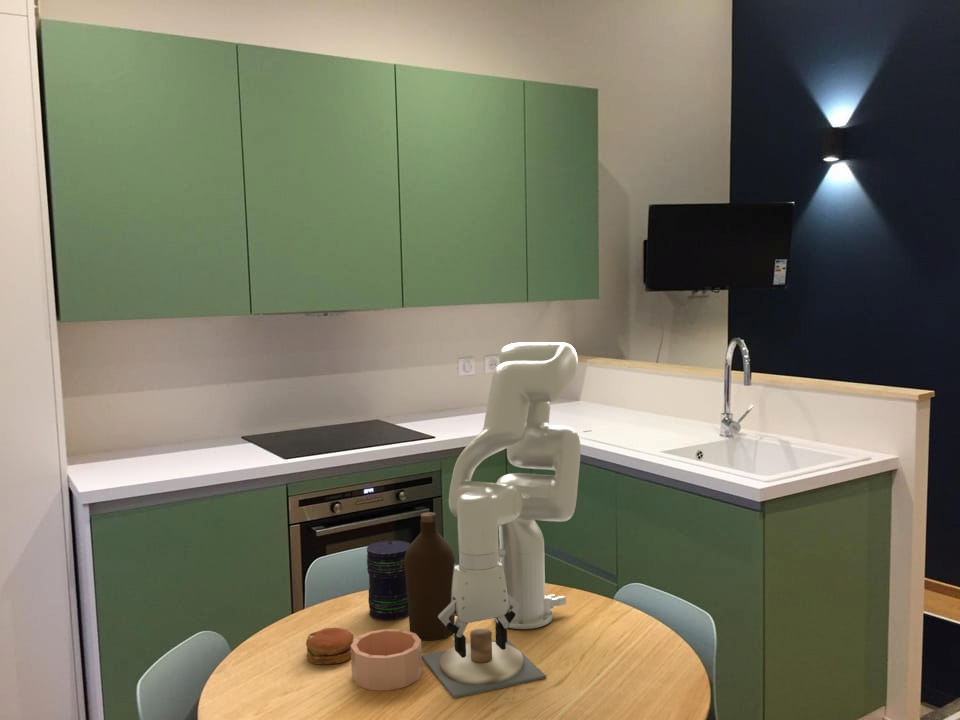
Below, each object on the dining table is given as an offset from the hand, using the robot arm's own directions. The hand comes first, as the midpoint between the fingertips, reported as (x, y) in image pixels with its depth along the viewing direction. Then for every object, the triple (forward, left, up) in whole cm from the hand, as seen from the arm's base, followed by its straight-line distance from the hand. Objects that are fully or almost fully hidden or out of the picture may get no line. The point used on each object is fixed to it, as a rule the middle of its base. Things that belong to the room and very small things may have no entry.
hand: (481, 650), depth 157 cm
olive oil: (+3, -20, -4) cm, 21 cm away
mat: (0, 0, -3) cm, 3 cm away
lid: (0, 0, -3) cm, 3 cm away
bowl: (+17, -5, -3) cm, 18 cm away
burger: (+25, -18, -4) cm, 31 cm away
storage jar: (+8, -34, -4) cm, 35 cm away
